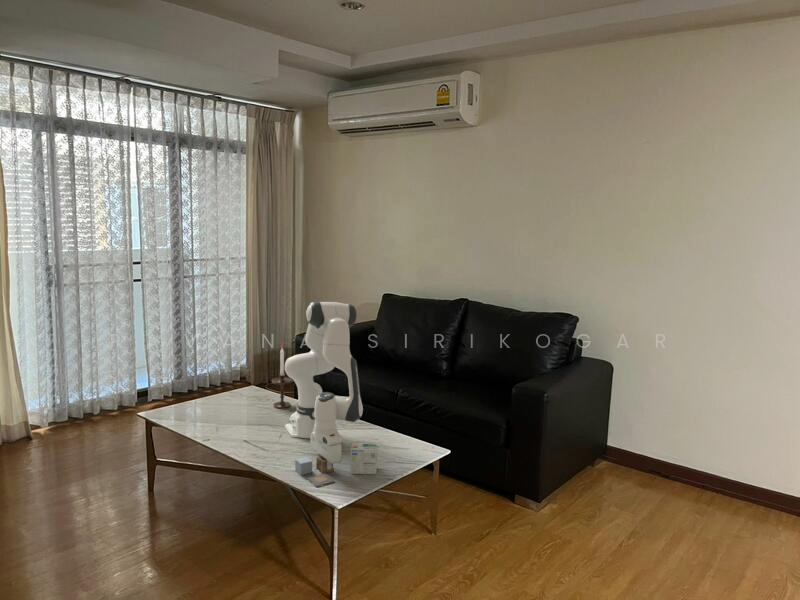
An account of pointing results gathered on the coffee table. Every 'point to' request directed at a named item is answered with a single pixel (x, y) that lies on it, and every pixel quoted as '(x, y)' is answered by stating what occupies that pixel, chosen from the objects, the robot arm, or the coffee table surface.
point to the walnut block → (322, 465)
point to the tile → (321, 480)
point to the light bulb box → (363, 458)
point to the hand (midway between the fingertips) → (324, 465)
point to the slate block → (303, 465)
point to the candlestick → (282, 383)
